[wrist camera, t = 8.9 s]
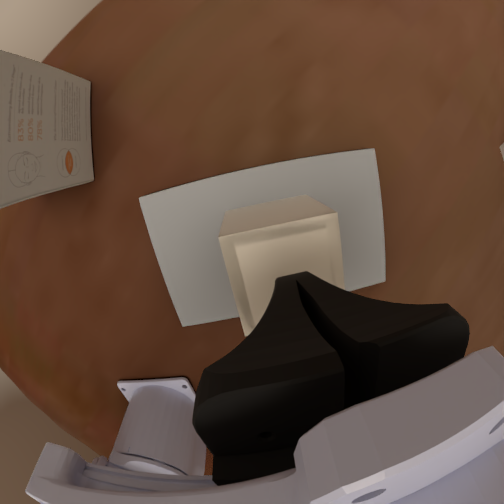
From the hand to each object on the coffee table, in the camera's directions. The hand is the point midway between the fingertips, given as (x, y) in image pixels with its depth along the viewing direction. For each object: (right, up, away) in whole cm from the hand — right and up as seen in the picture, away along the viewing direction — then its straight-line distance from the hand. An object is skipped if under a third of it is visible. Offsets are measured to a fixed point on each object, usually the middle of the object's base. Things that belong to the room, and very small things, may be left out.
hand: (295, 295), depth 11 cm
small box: (-16, +10, +5) cm, 20 cm away
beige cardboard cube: (0, +2, +7) cm, 7 cm away
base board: (0, +3, +8) cm, 8 cm away
